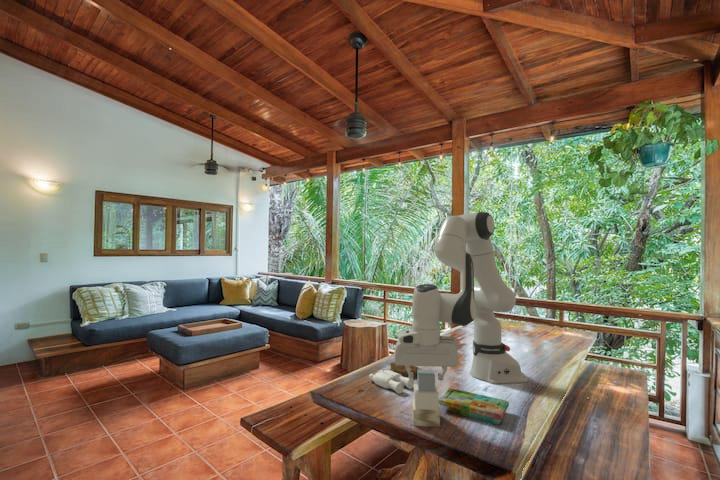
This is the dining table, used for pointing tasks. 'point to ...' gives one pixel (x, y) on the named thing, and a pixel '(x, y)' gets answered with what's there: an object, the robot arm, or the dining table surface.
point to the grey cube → (426, 380)
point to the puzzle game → (475, 405)
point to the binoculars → (391, 380)
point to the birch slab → (425, 417)
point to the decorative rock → (401, 369)
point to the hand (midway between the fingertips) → (425, 379)
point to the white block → (425, 399)
